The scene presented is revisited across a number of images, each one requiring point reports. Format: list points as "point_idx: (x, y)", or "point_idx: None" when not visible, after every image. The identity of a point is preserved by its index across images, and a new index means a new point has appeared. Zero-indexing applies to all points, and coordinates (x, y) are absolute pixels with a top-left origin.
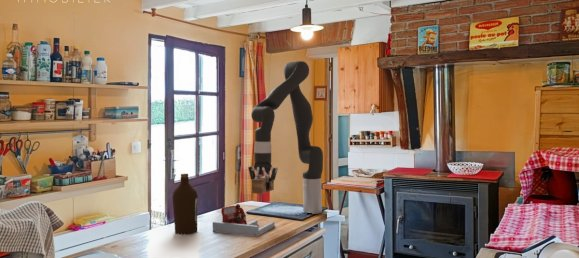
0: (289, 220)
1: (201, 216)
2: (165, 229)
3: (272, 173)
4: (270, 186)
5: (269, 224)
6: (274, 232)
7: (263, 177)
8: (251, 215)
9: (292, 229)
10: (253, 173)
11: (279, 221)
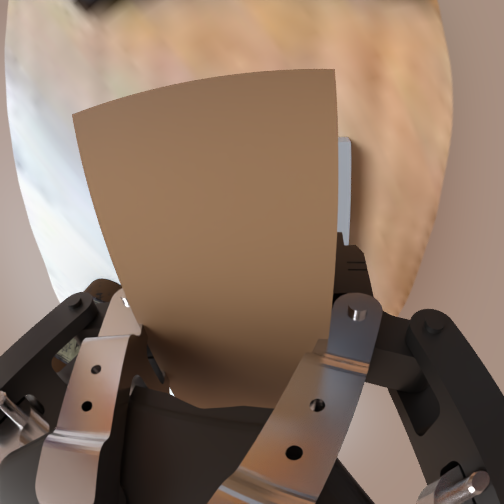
0: (358, 5)
1: (16, 155)
2: (69, 296)
3: (438, 469)
4: (365, 271)
5: (349, 195)
6: (388, 225)
7: (193, 314)
8: (120, 22)
9: (444, 160)
10: (57, 379)
11: (319, 38)
